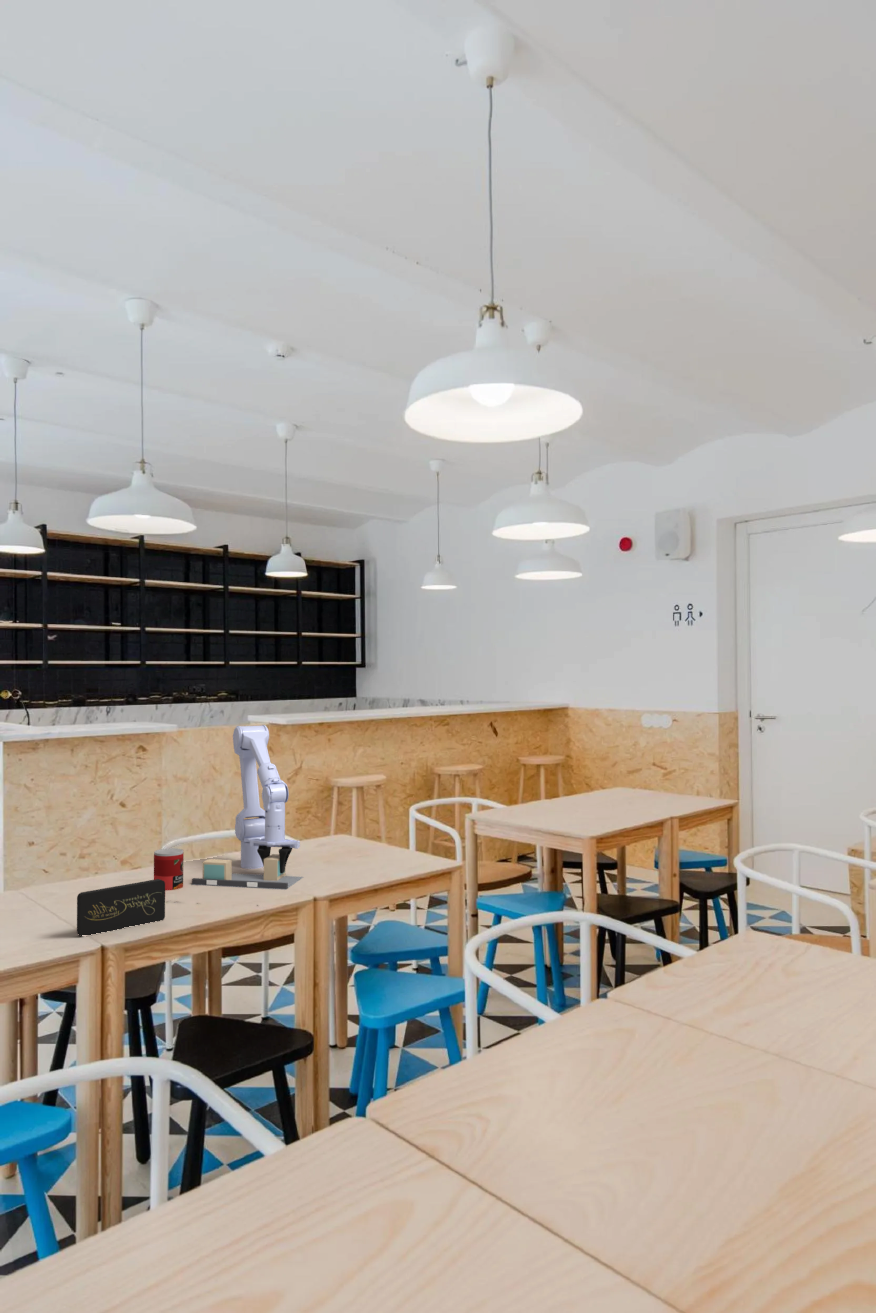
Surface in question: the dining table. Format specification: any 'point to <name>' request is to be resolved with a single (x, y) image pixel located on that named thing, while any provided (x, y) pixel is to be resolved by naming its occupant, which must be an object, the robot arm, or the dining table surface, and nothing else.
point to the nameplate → (120, 907)
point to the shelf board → (249, 882)
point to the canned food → (169, 867)
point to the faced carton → (217, 869)
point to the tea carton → (272, 868)
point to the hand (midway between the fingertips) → (274, 872)
